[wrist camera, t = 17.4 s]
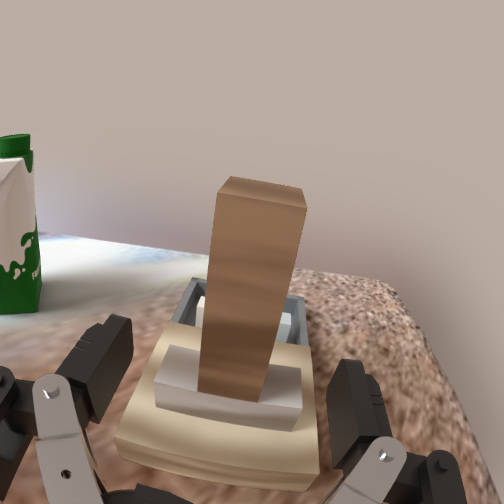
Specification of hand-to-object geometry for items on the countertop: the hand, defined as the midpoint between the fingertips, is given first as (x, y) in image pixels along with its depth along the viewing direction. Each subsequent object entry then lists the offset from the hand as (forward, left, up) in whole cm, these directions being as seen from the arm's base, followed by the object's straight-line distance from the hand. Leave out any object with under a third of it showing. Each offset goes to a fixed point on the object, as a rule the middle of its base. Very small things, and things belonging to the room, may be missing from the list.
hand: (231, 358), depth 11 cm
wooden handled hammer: (-1, +7, -11) cm, 13 cm away
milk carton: (-31, +10, -15) cm, 36 cm away
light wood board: (-1, +8, -15) cm, 17 cm away
